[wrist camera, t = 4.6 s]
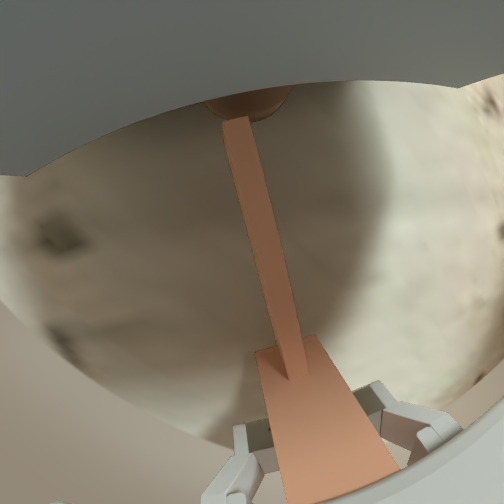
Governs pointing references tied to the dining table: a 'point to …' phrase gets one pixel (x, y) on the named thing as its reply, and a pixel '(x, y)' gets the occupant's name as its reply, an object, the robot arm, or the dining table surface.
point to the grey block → (213, 57)
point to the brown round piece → (249, 103)
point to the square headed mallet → (300, 363)
